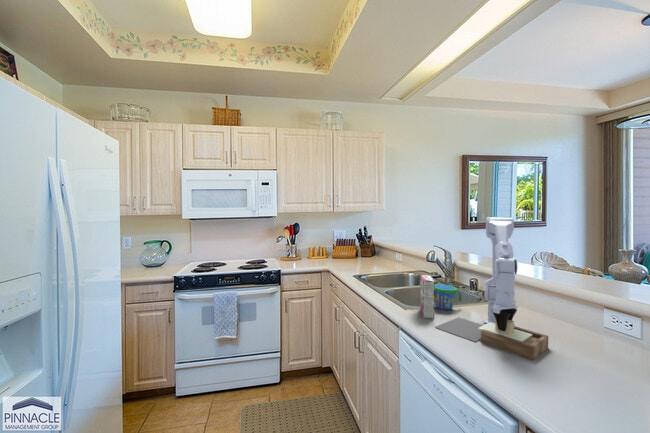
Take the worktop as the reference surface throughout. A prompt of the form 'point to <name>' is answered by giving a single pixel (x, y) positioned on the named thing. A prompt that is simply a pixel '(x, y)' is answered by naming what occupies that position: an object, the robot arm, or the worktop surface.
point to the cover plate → (515, 335)
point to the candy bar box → (427, 296)
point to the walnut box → (517, 343)
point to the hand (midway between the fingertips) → (503, 329)
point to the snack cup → (445, 296)
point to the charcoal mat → (462, 329)
